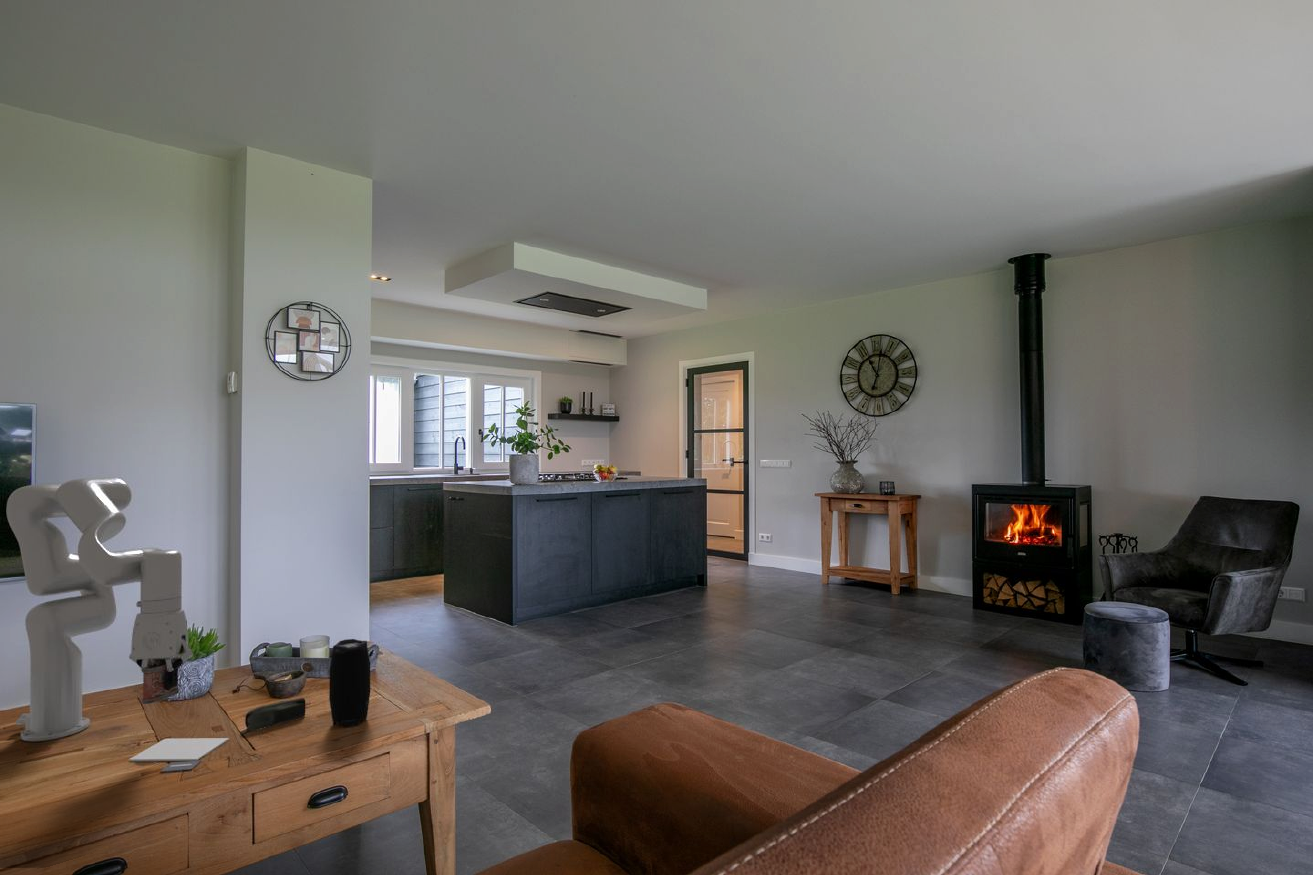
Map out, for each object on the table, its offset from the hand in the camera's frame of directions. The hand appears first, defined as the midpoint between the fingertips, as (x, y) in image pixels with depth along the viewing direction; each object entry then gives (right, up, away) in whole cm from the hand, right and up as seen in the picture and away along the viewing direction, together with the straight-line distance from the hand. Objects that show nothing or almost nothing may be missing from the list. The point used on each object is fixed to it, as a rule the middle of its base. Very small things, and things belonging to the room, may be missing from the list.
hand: (161, 687), depth 154 cm
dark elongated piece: (+17, -15, +15) cm, 27 cm away
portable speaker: (+35, -15, +16) cm, 41 cm away
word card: (+10, -14, -8) cm, 19 cm away
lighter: (0, -2, 0) cm, 2 cm away
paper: (+4, -14, +1) cm, 15 cm away
